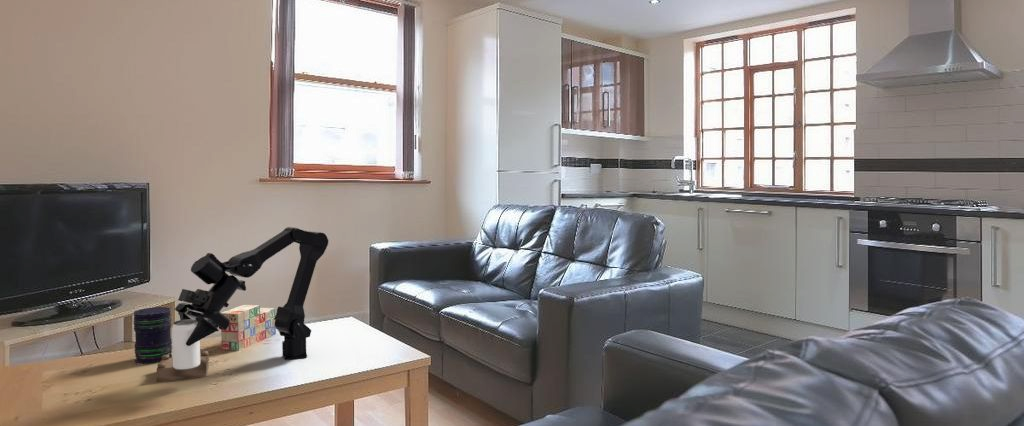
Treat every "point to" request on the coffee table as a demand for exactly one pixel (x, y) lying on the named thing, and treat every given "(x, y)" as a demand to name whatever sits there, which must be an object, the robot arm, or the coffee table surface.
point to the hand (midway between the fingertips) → (180, 343)
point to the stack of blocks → (247, 326)
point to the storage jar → (152, 334)
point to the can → (184, 345)
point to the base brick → (170, 373)
